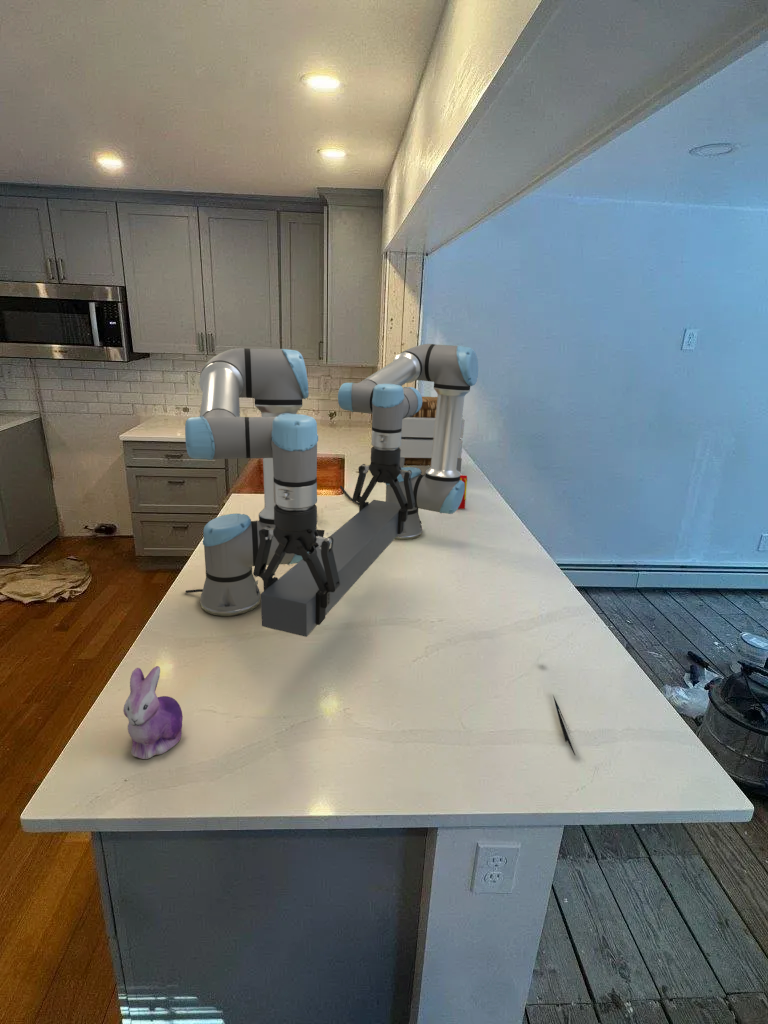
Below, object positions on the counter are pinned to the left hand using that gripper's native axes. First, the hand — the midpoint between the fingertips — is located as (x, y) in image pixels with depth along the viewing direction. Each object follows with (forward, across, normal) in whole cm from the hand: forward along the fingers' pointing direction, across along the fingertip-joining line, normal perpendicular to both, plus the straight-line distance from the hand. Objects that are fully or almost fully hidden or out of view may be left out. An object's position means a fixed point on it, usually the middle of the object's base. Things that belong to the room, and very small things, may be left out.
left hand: (296, 615), depth 107 cm
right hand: (0, +1, +49) cm, 49 cm away
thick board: (+1, 0, +24) cm, 24 cm away
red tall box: (+20, 0, +141) cm, 142 cm away
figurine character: (+20, -26, +62) cm, 70 cm away
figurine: (+19, -18, -20) cm, 33 cm away
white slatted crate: (+20, -21, +173) cm, 175 cm away
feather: (+19, +50, +17) cm, 56 cm away
